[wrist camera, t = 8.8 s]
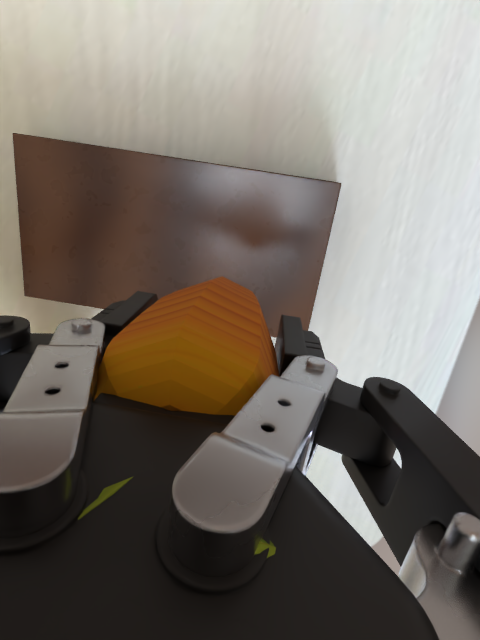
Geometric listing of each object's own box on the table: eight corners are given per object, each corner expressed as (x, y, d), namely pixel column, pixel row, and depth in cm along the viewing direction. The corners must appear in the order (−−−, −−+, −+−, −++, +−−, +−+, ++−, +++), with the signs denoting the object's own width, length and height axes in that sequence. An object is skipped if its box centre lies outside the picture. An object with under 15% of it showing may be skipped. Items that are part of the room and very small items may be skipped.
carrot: (282, 250, 17) (326, 525, 3) (273, 344, 19) (275, 780, 5) (180, 242, 18) (-167, 467, 4) (179, 336, 19) (-57, 729, 5)
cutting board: (38, 289, 33) (24, 296, 31) (29, 135, 28) (11, 132, 26) (303, 333, 32) (305, 342, 30) (337, 183, 28) (341, 183, 26)
